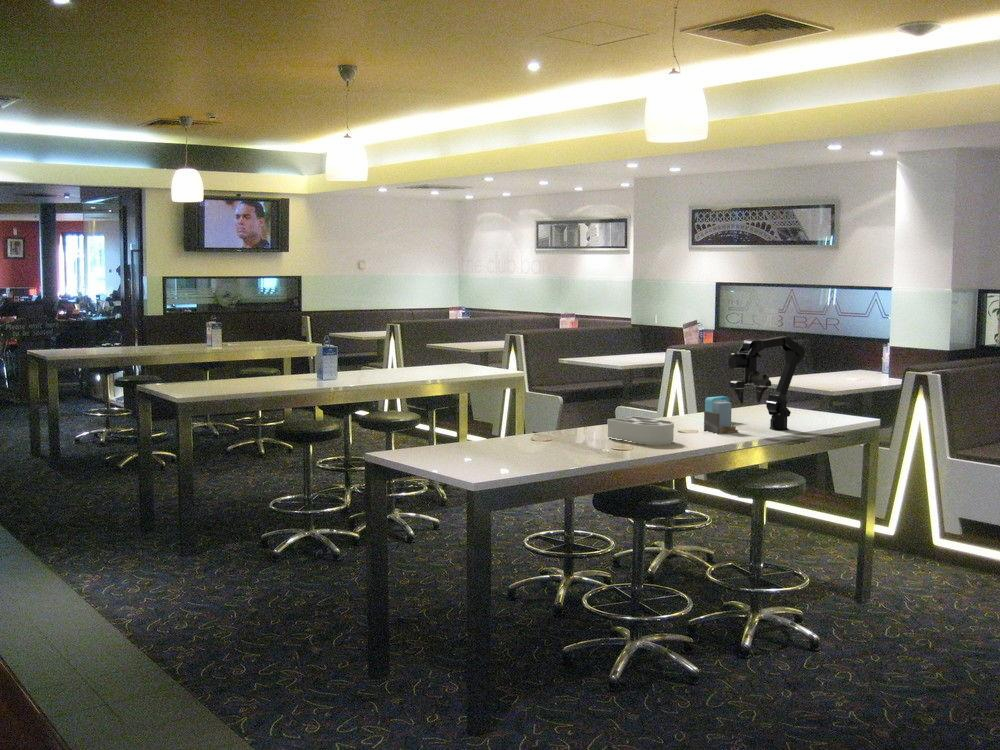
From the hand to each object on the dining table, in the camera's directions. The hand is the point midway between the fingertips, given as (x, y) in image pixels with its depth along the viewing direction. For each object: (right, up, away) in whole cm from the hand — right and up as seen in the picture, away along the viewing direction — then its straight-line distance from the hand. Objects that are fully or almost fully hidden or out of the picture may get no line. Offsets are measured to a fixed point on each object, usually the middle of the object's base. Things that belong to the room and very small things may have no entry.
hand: (750, 403), depth 450 cm
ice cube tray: (-50, -16, -20) cm, 56 cm away
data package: (-8, -10, +32) cm, 35 cm away
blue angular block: (-12, -12, +3) cm, 17 cm away
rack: (-12, -13, +3) cm, 18 cm away
